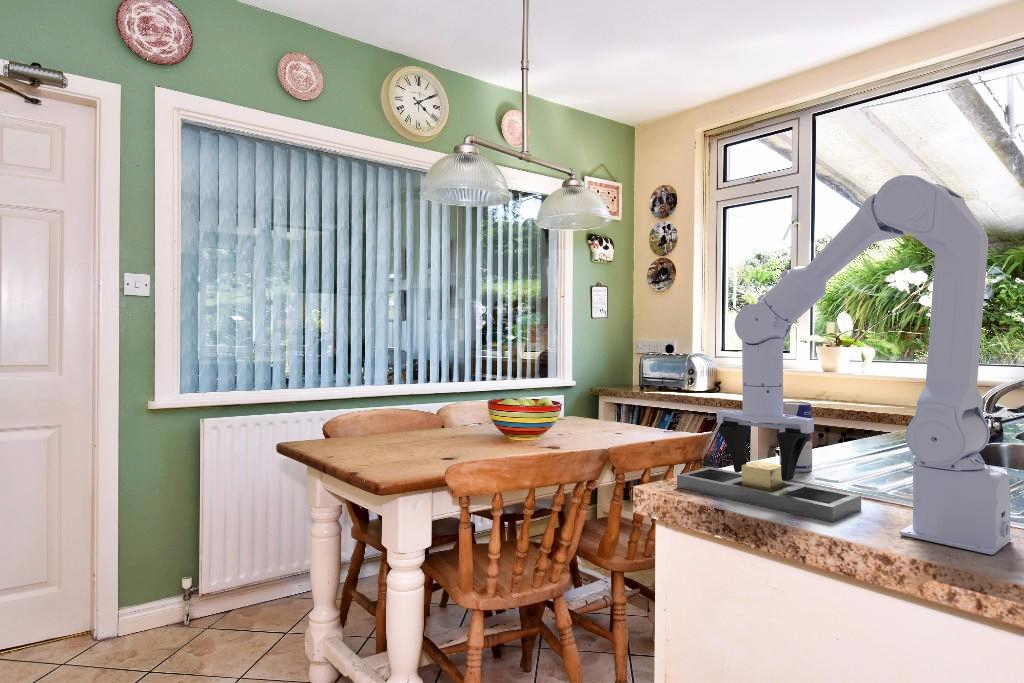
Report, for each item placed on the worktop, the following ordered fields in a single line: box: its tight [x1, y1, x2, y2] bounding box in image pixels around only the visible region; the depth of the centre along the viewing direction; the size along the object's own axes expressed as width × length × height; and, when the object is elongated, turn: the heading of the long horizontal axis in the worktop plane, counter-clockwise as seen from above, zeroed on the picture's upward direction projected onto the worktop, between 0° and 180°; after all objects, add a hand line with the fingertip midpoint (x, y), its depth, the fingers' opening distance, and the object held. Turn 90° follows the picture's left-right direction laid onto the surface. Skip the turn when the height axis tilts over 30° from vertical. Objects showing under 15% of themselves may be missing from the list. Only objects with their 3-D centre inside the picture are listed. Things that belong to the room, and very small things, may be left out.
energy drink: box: [779, 400, 813, 473], centre depth 115 cm, size 5×5×12 cm
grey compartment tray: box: [676, 466, 862, 523], centre depth 96 cm, size 24×9×2 cm, turn 39°
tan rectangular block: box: [741, 460, 785, 492], centre depth 96 cm, size 4×4×5 cm
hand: (763, 475), depth 96 cm, fingers open, 7 cm apart
